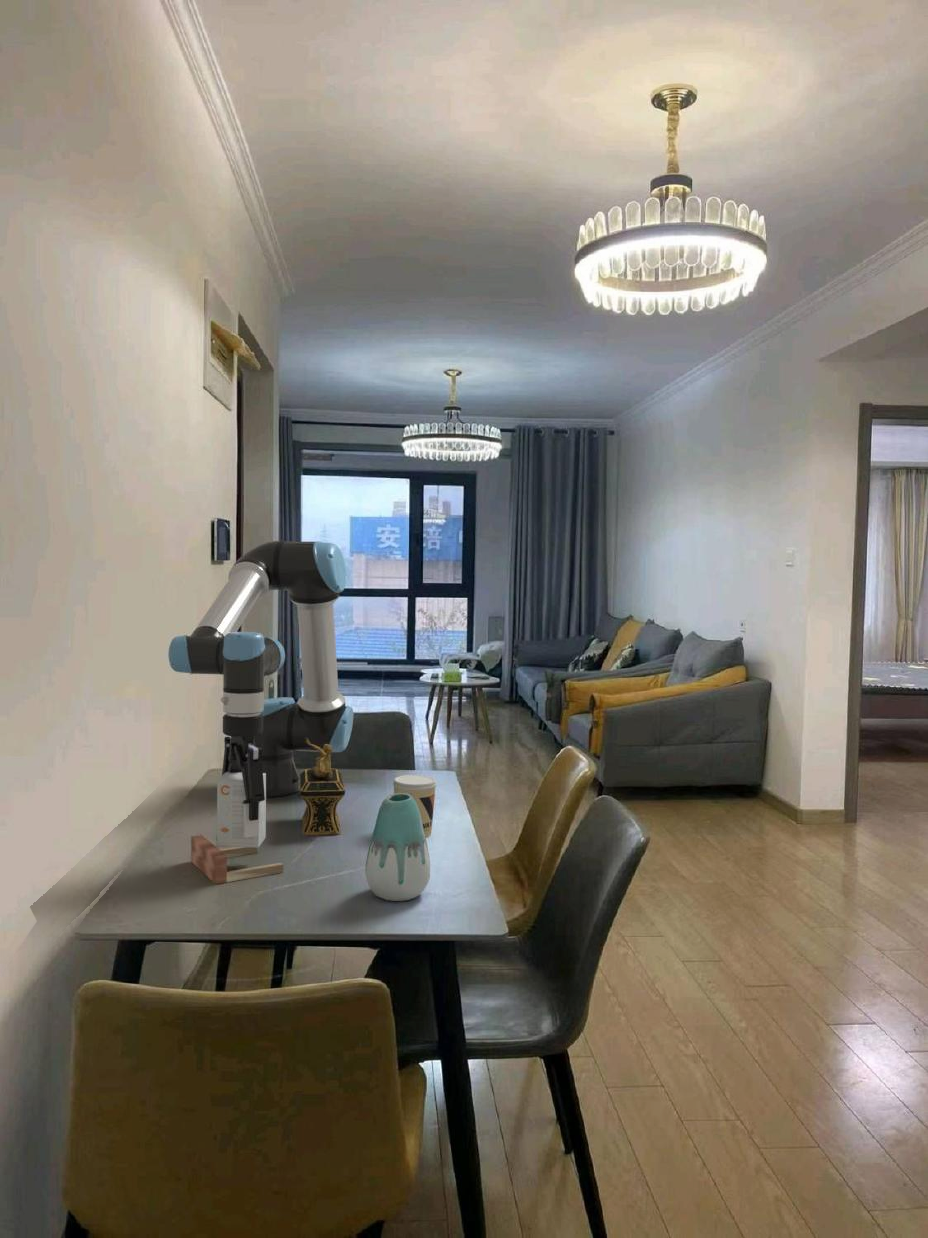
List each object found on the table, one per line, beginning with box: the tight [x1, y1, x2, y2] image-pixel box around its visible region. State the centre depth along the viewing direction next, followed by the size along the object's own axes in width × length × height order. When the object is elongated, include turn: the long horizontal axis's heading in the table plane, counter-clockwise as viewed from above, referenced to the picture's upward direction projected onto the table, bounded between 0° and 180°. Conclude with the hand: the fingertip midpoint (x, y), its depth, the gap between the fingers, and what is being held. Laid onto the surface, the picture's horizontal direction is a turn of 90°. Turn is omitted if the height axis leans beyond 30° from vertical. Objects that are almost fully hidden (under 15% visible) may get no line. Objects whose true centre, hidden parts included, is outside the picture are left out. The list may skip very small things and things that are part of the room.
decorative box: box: [299, 738, 346, 837], centre depth 203 cm, size 20×10×20 cm, turn 10°
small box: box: [216, 772, 267, 848], centre depth 178 cm, size 8×6×13 cm
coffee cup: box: [392, 774, 437, 839], centre depth 202 cm, size 9×9×12 cm
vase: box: [364, 793, 431, 902], centre depth 165 cm, size 12×12×18 cm
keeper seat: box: [190, 834, 284, 885], centre depth 178 cm, size 14×13×5 cm
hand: (241, 829), depth 178 cm, fingers closed on small box, 9 cm apart
